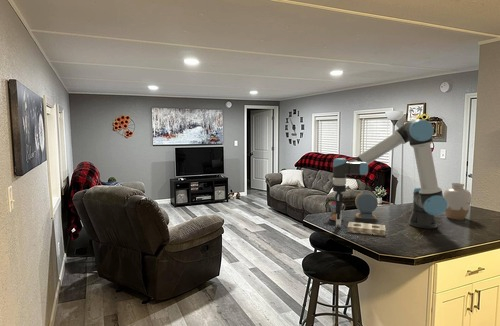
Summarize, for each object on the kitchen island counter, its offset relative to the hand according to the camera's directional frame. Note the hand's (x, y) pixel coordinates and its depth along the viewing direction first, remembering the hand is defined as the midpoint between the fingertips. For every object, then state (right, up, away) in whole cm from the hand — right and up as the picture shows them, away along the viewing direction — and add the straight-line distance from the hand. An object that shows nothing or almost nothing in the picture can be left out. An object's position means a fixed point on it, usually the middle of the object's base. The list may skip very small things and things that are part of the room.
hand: (338, 223), depth 200 cm
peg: (0, -2, 0) cm, 2 cm away
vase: (+84, -1, +23) cm, 87 cm away
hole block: (+14, -3, -7) cm, 16 cm away
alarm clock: (+25, 0, +25) cm, 35 cm away
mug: (+4, -1, +18) cm, 18 cm away
